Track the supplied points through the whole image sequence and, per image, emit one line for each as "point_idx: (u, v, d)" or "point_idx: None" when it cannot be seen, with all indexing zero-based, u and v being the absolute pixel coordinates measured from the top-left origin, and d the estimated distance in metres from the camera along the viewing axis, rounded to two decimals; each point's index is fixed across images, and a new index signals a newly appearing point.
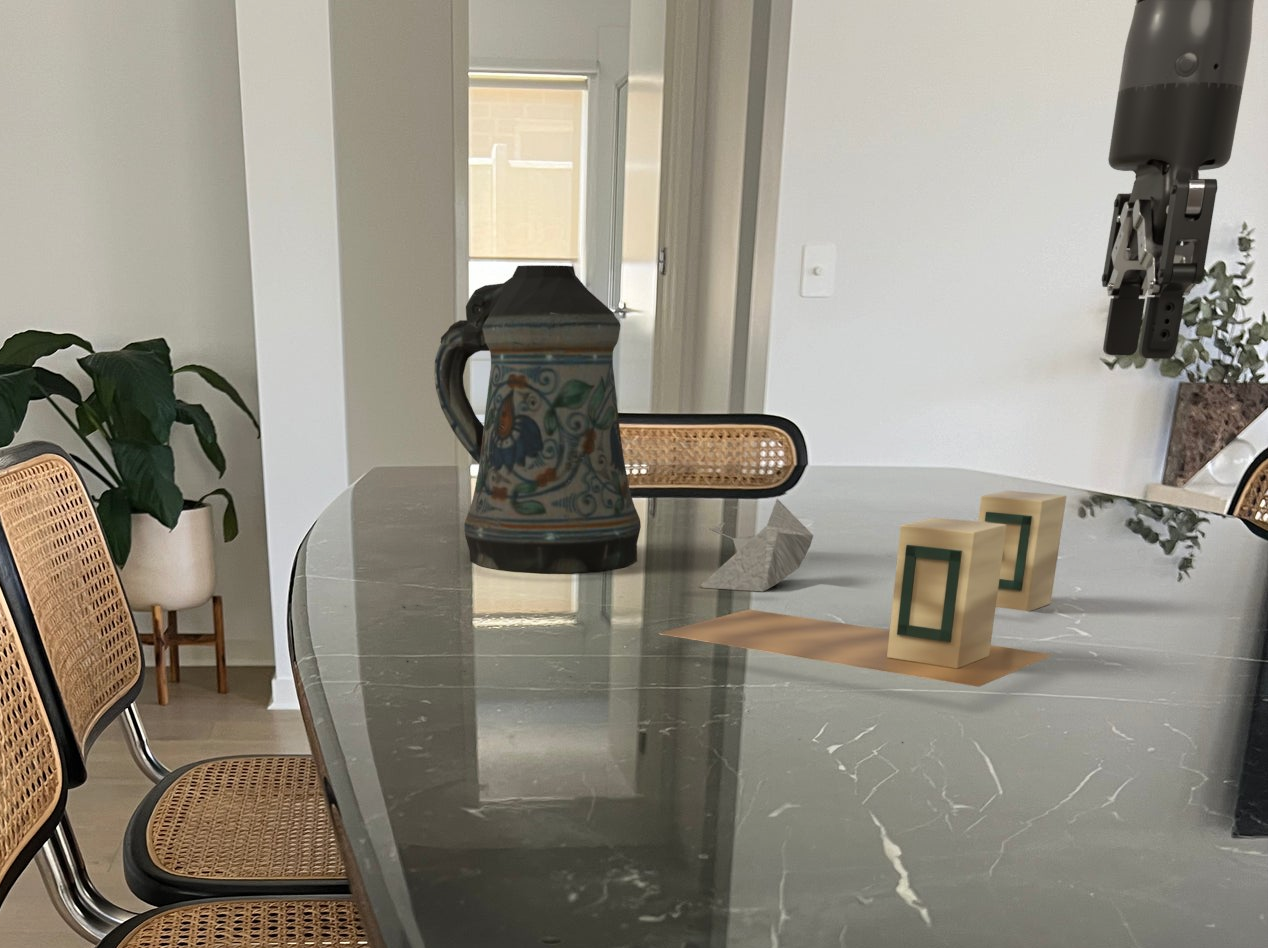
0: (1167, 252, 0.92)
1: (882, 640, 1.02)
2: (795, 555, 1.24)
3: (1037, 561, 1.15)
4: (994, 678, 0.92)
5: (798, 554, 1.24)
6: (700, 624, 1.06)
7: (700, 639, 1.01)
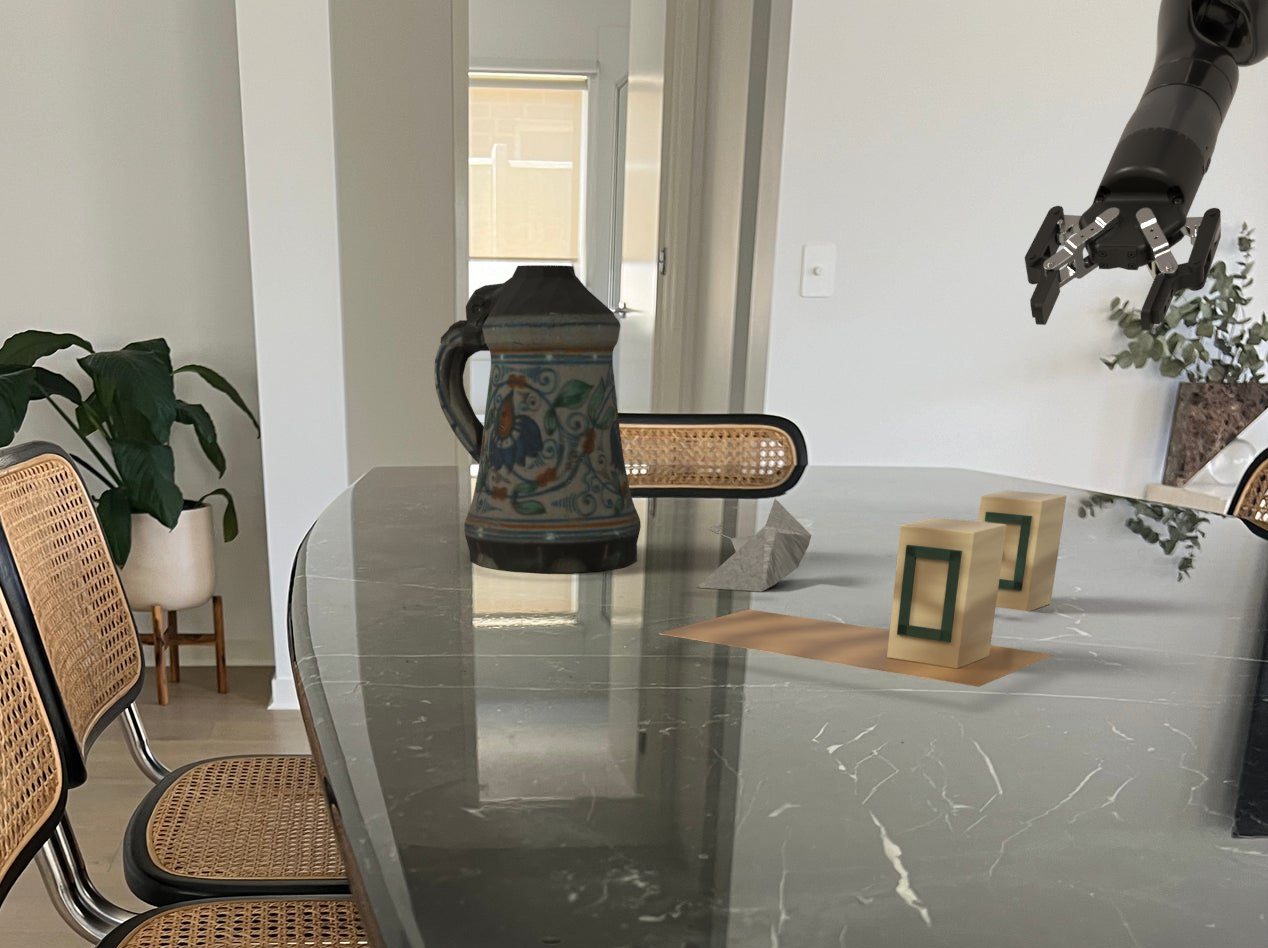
0: None
1: (882, 640, 1.02)
2: (793, 555, 1.24)
3: (1037, 561, 1.15)
4: (994, 678, 0.92)
5: (796, 554, 1.24)
6: (700, 624, 1.06)
7: (700, 639, 1.01)
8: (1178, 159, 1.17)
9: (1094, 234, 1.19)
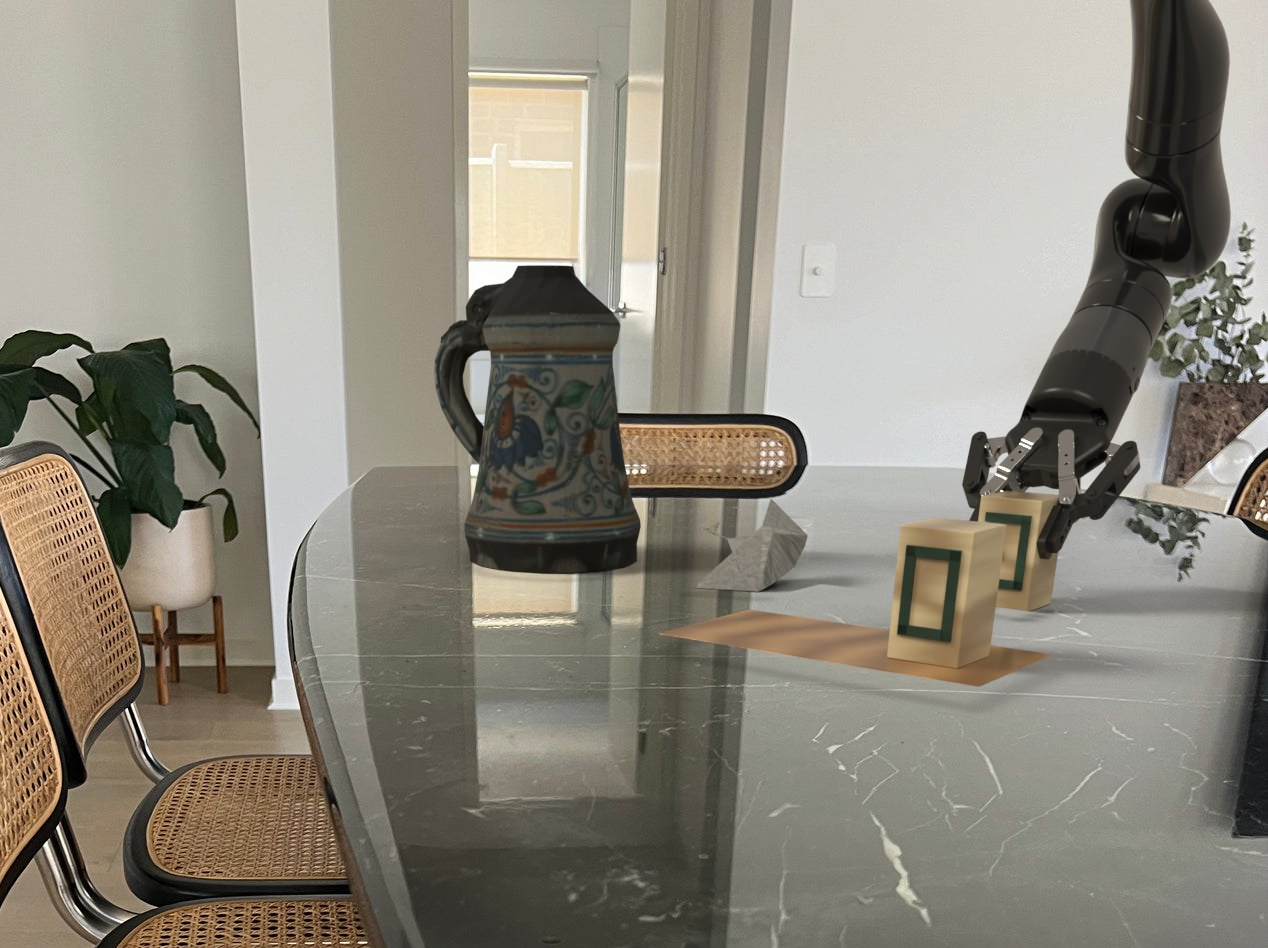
0: None
1: (882, 640, 1.02)
2: (790, 555, 1.24)
3: (1037, 561, 1.15)
4: (994, 678, 0.92)
5: (793, 554, 1.24)
6: (700, 624, 1.06)
7: (700, 639, 1.01)
8: (1101, 382, 1.15)
9: (1023, 456, 1.17)
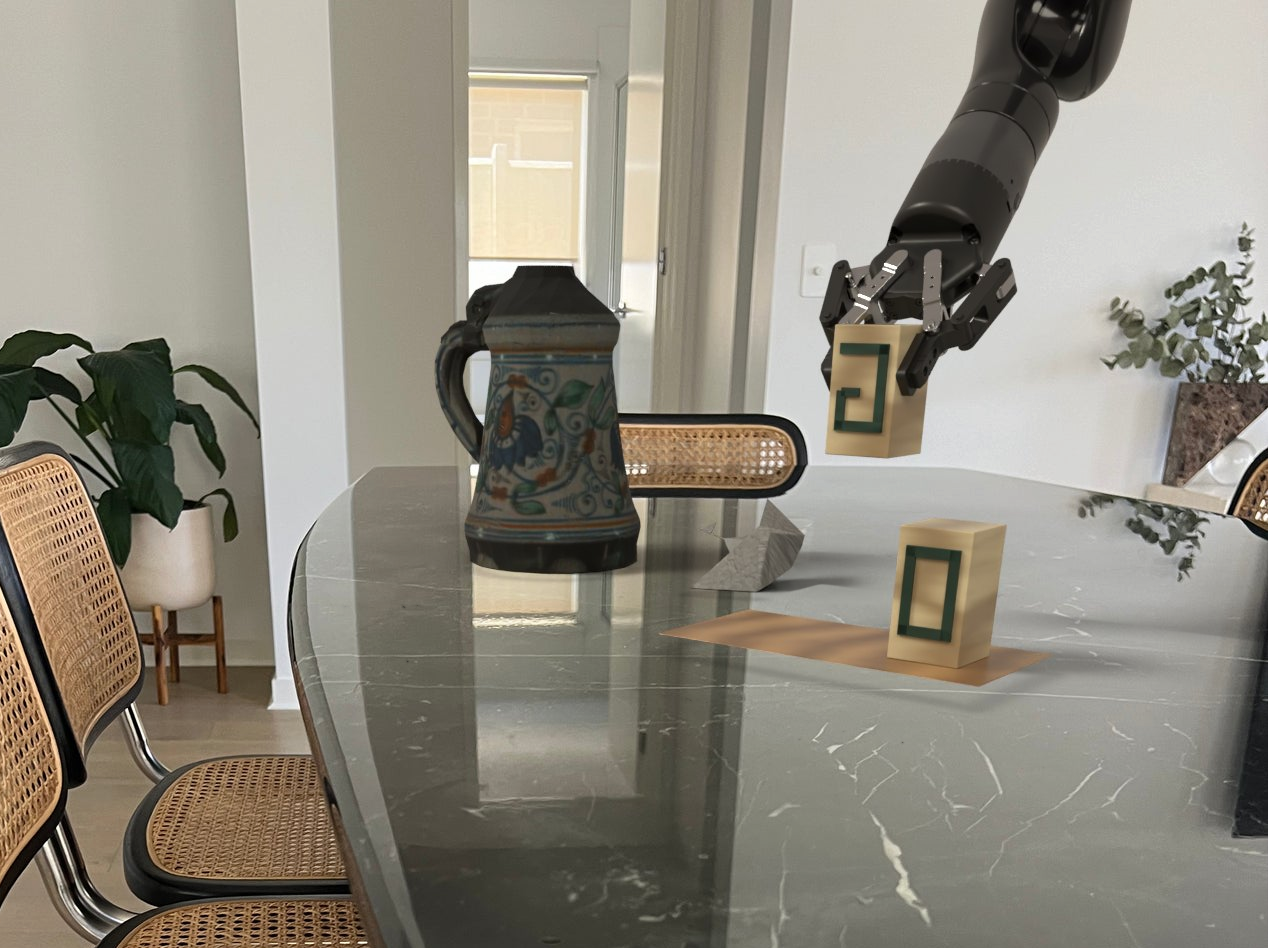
0: None
1: (882, 640, 1.02)
2: (787, 555, 1.24)
3: (898, 398, 1.00)
4: (994, 678, 0.92)
5: (790, 554, 1.24)
6: (700, 624, 1.06)
7: (700, 639, 1.01)
8: (973, 193, 1.01)
9: (886, 281, 1.03)
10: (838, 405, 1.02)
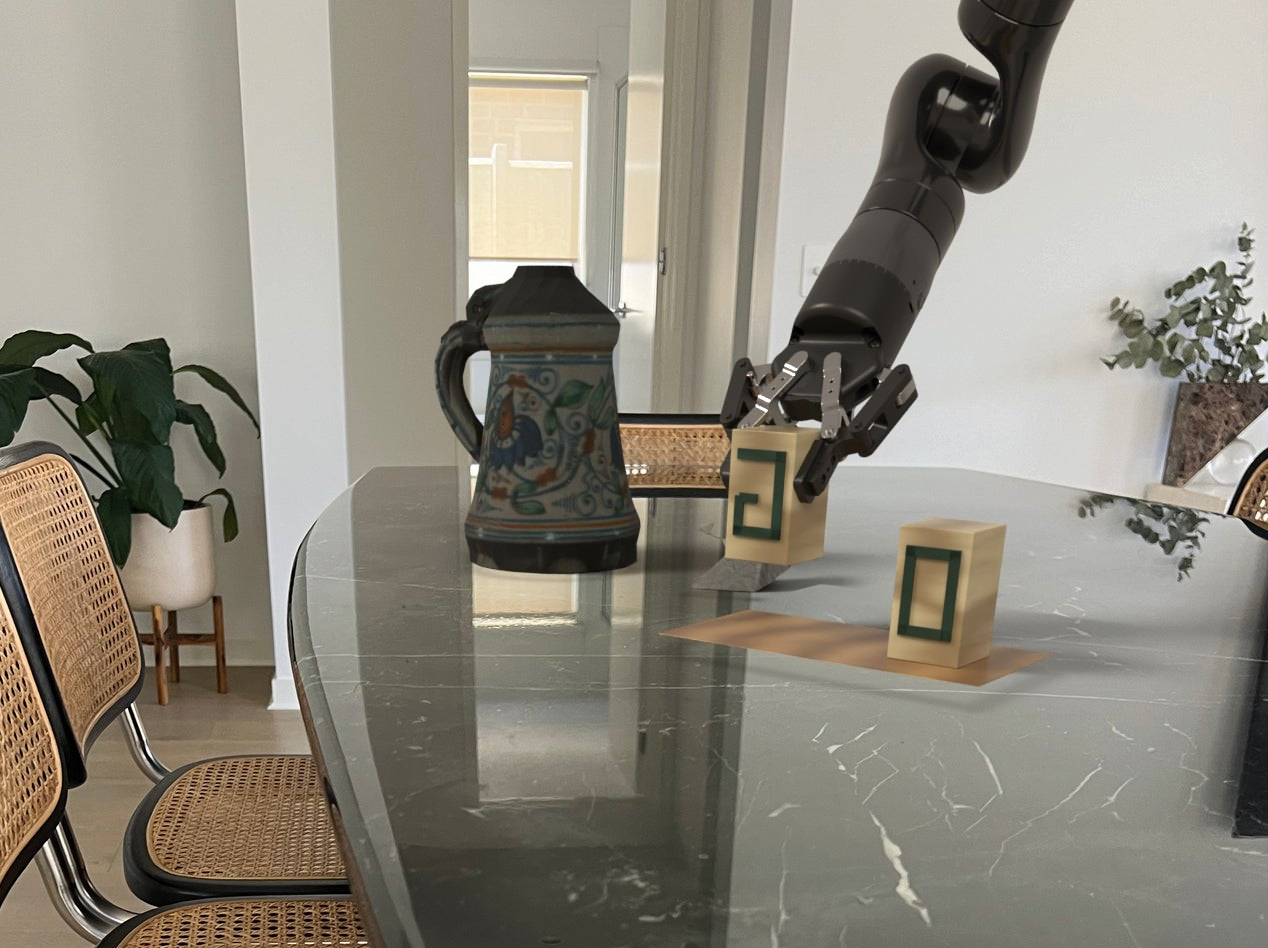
0: None
1: (882, 640, 1.02)
2: None
3: (796, 505, 0.98)
4: (994, 678, 0.92)
5: None
6: (700, 624, 1.06)
7: (700, 639, 1.01)
8: (873, 296, 0.98)
9: (786, 383, 1.00)
10: (736, 510, 1.00)
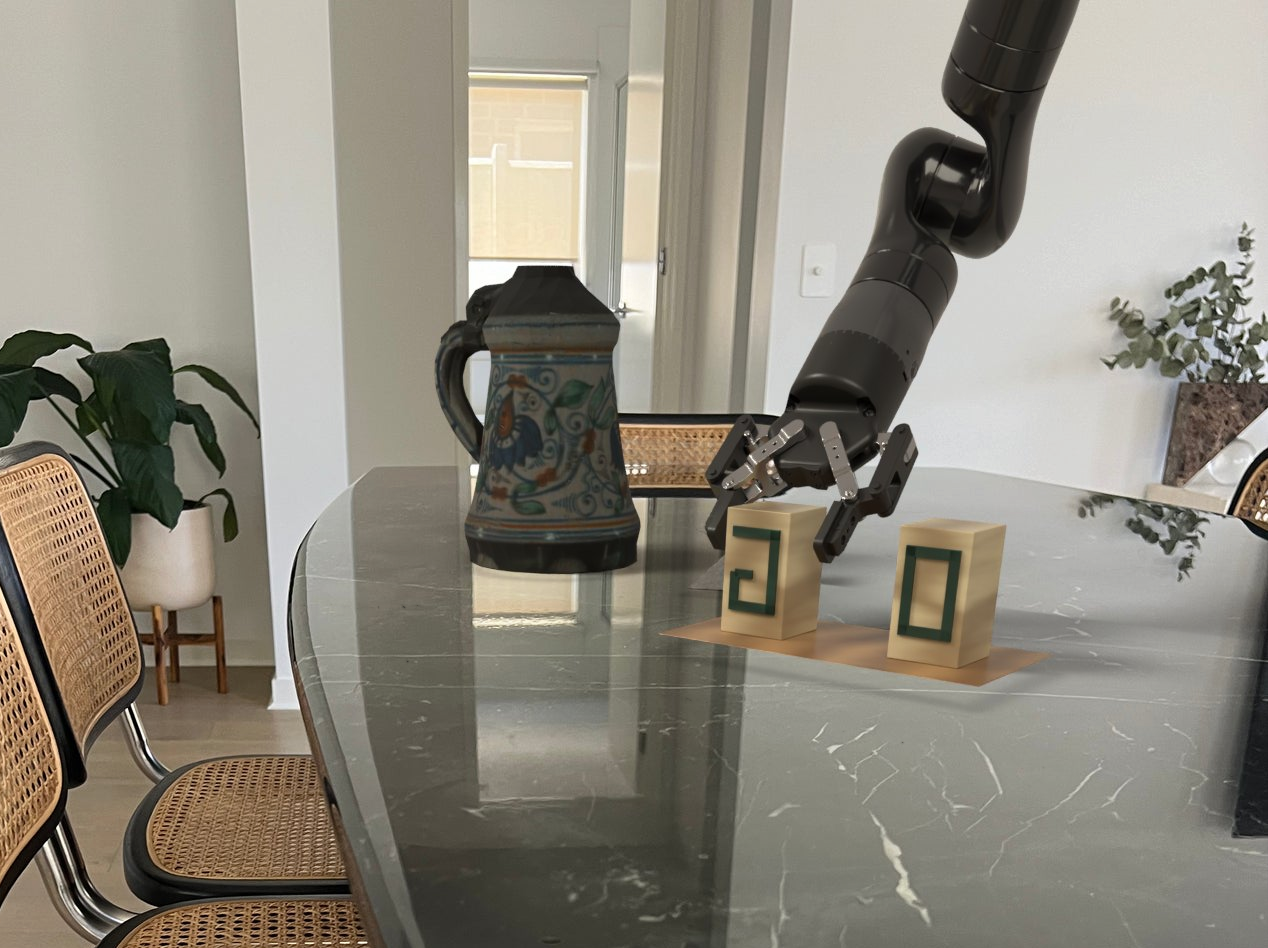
0: None
1: (882, 640, 1.02)
2: None
3: (790, 582, 1.00)
4: (994, 678, 0.92)
5: None
6: (700, 624, 1.06)
7: (700, 639, 1.01)
8: (867, 366, 1.00)
9: (776, 450, 1.02)
10: (732, 585, 1.02)
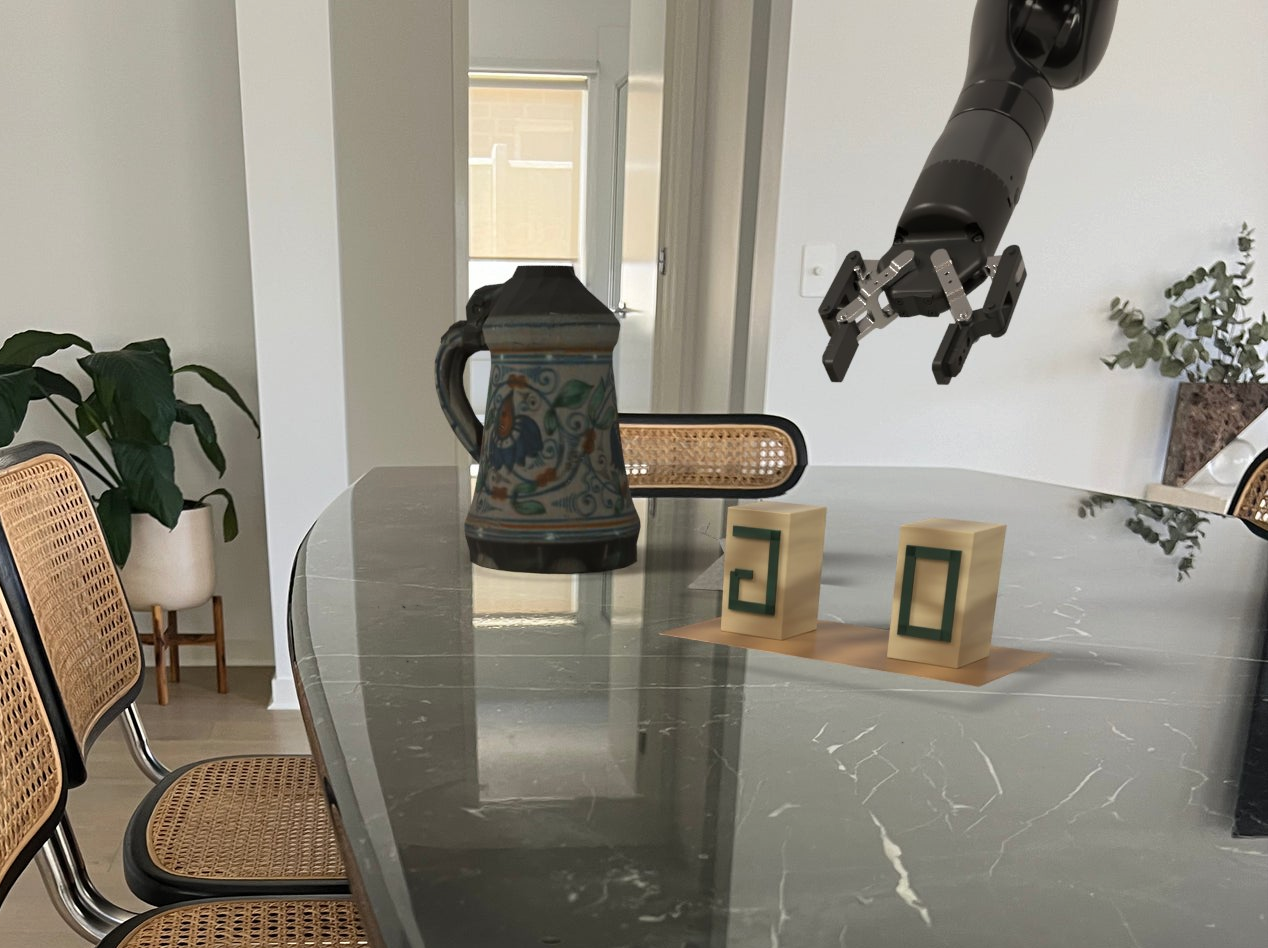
0: None
1: (882, 640, 1.02)
2: None
3: (790, 582, 1.00)
4: (994, 678, 0.92)
5: None
6: (700, 624, 1.06)
7: (700, 639, 1.01)
8: (974, 193, 1.05)
9: (888, 280, 1.07)
10: (732, 585, 1.02)
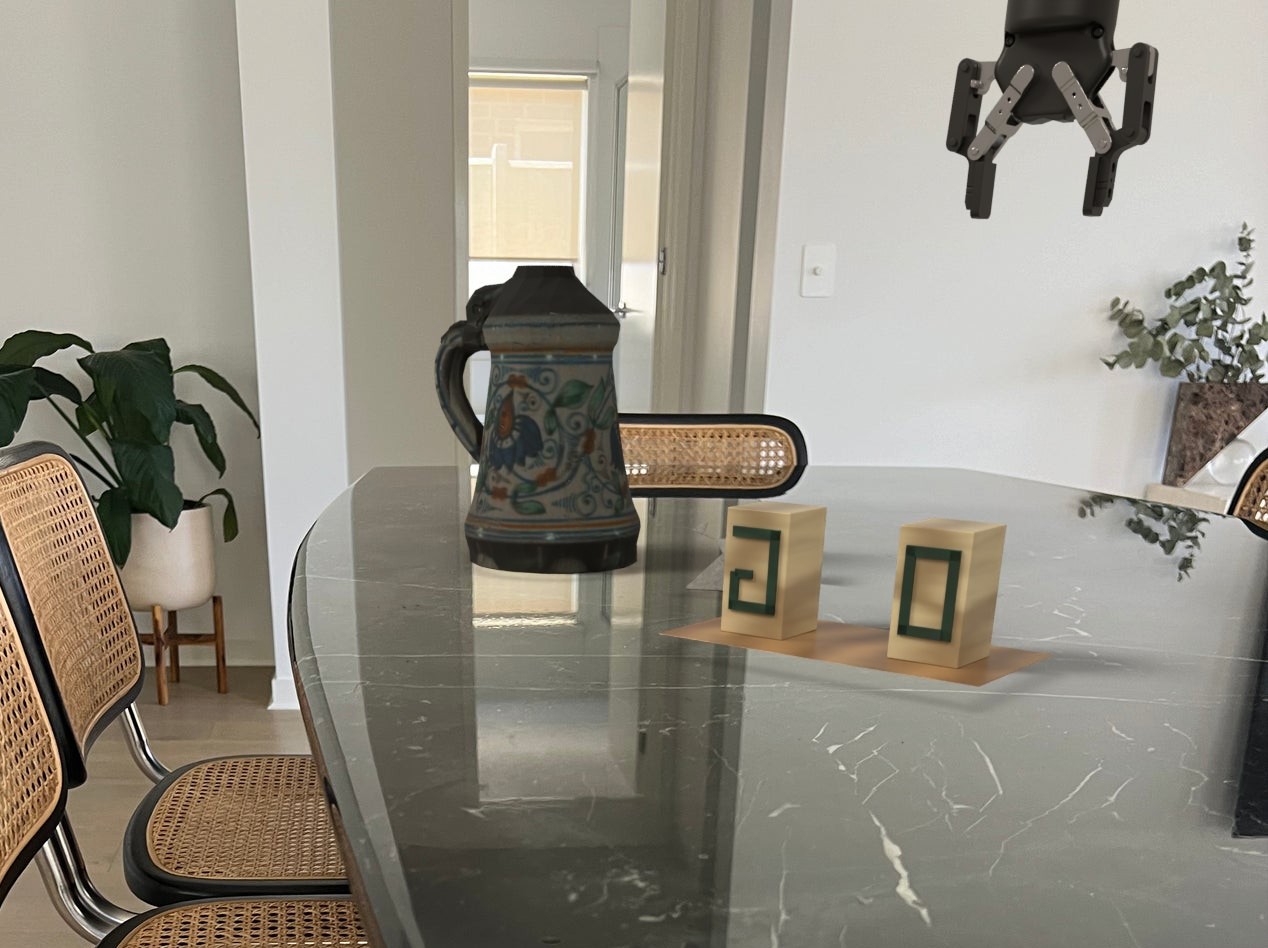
0: None
1: (882, 640, 1.02)
2: None
3: (790, 582, 1.00)
4: (994, 678, 0.92)
5: None
6: (700, 624, 1.06)
7: (700, 639, 1.01)
8: None
9: (1012, 106, 1.05)
10: (732, 585, 1.02)
